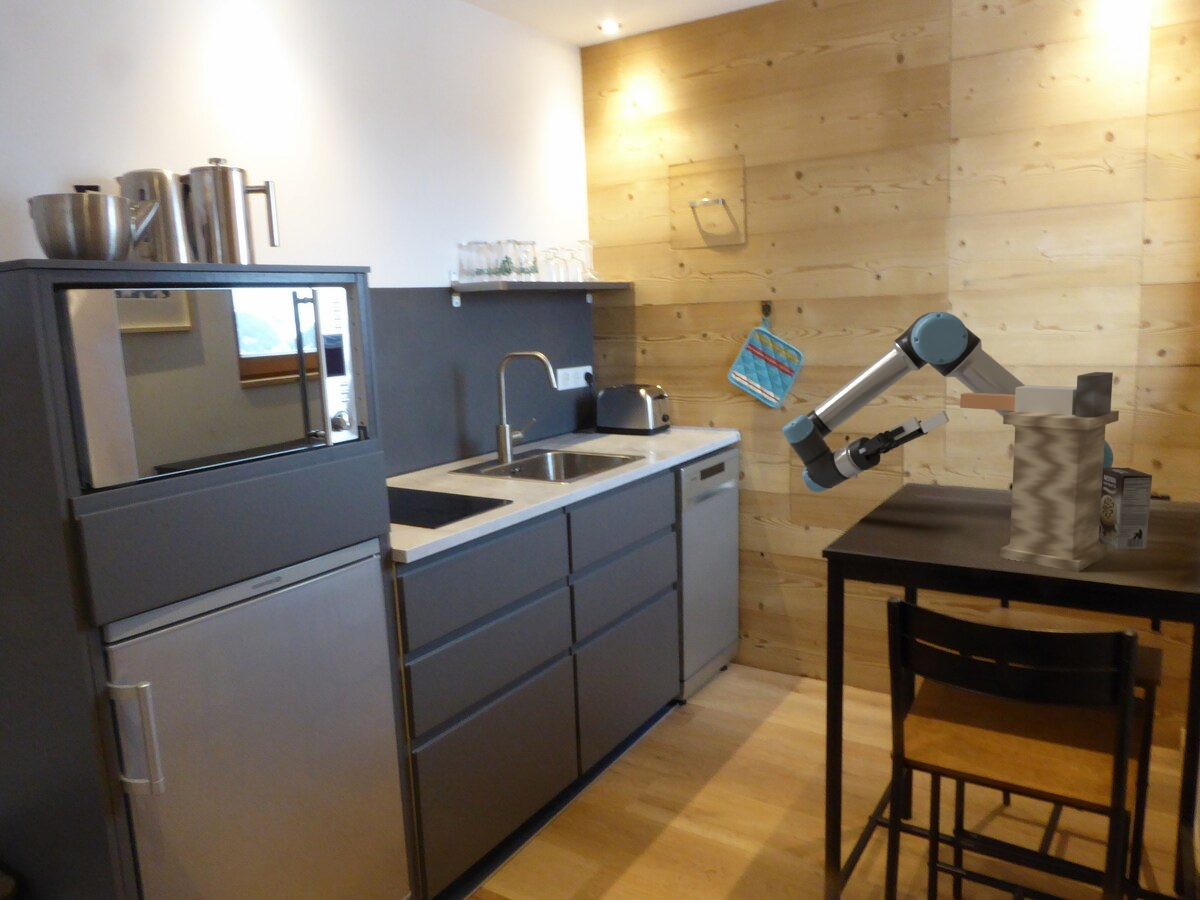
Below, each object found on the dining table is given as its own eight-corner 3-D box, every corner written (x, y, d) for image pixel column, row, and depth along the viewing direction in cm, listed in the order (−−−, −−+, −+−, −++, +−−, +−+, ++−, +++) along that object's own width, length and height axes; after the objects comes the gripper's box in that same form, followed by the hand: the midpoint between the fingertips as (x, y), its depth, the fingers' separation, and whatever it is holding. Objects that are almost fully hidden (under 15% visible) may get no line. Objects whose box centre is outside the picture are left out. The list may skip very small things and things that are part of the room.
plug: (957, 408, 189) (958, 385, 188) (969, 405, 193) (970, 383, 192) (1076, 415, 172) (1077, 390, 171) (1086, 412, 176) (1088, 387, 175)
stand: (997, 557, 181) (1005, 374, 176) (1029, 541, 193) (1038, 369, 187) (1080, 572, 170) (1091, 377, 164) (1110, 554, 181) (1121, 371, 175)
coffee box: (1094, 538, 193) (1098, 467, 191) (1123, 538, 193) (1128, 466, 191) (1117, 550, 184) (1121, 474, 182) (1148, 549, 184) (1153, 474, 182)
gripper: (891, 463, 219) (964, 427, 204) (836, 478, 203) (912, 440, 188) (878, 437, 221) (950, 399, 206) (822, 449, 204) (896, 409, 189)
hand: (932, 418), depth 197 cm, fingers open, 13 cm apart
